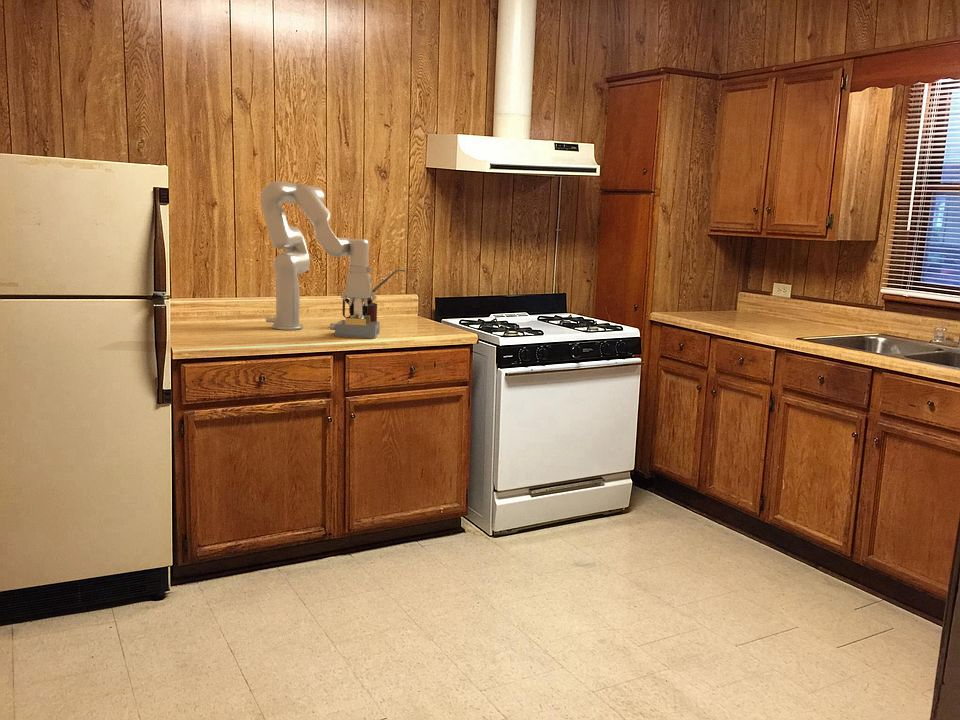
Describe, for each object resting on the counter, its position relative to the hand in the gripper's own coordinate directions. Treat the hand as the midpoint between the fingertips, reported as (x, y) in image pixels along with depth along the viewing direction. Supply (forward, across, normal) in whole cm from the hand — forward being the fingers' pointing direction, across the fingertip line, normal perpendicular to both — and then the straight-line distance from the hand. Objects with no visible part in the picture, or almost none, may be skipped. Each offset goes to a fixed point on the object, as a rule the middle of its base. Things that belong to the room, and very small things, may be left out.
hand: (358, 314), depth 339 cm
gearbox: (+8, +2, 0) cm, 9 cm away
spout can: (+4, 0, 0) cm, 4 cm away
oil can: (+8, -3, -26) cm, 28 cm away
